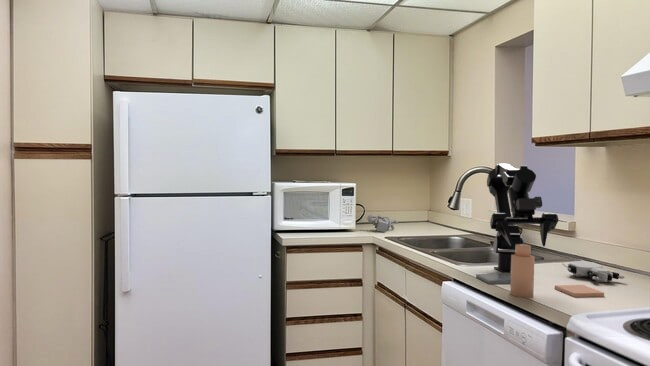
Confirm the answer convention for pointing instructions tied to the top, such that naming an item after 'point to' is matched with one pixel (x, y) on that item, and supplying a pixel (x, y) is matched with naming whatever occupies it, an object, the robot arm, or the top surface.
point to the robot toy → (592, 271)
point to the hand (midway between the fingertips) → (527, 245)
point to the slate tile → (494, 278)
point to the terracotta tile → (579, 290)
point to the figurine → (381, 222)
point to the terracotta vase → (522, 272)
